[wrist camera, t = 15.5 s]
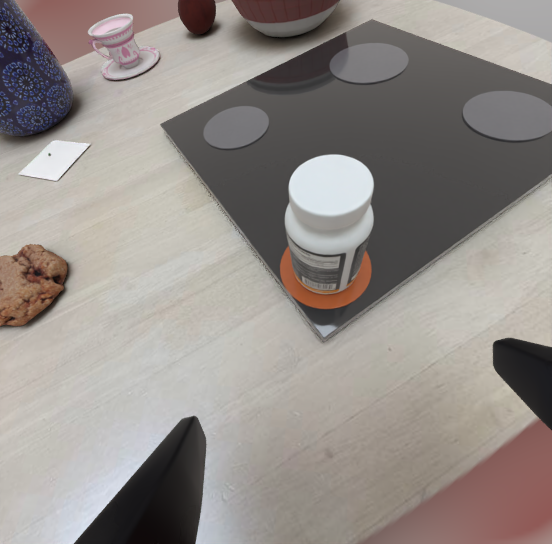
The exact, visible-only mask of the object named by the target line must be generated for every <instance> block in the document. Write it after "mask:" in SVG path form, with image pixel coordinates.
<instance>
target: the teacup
mask: <svg viewBox="0 0 552 544" xmlns="http://www.w3.org/2000/svg"><path fill="white" fill-rule="evenodd" d="M132 19H133V17H132V15H131V14H120V15H116V16H112V17H109V18H106V19H104V20H102V21H100V22H98V23H96V24H95V25H93V26H92V27H91V28H90V29H89V31H88V33H89V35H91V36H93V37H94V38H95V39H94V40H90V41H89V44H92V47H93V48H94V49H95V51H96V52H97V53H99V54H100V55H101V56H103V57H105V58H107V59H109V60H108V61H106V62H105V64H104V65H103V66H102V69H101V73H102V75H103V76H104V77H105V78H107V79H112V80H119V79H126V78H129V77H133V76H136V75H138V74H140V73H142V72H145V71H146V70H148V69H149V68H151V67H152V66H153V65H154V64H155V63H156V62H157V61H158V59H159V57H160V55H159V51H158V50H157V49H156V48H153V47H150V46H141V47H138V46H137V44H136V42H135V40H134V32H133V31H132V27H133V21H132ZM95 43H101V44H102V45H103V46H104V47H106V48H107V49H108V51H109V55H110V57H108V56H106V55H104V54H102V53H101V52H100V51H98V49H96V47H95Z"/></svg>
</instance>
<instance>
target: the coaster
mask: <svg viewBox="0 0 552 544" xmlns="http://www.w3.org/2000/svg"><path fill="white" fill-rule="evenodd" d="M89 145H90V144H85V143H77V142H68V141H60V140H53V141H52V142H51V143H50V144H49V145H48V146H47V147H46V148H45V149H44V150H43V151H41V152H40V153H39V154H38V155H37V156H36V157H35V158H34V159H33V160H32V161H31V162H30V163H29V164H28V165H27V166H26V167H25V168H24V169H23V170H22V171H21V172H20V173H19V174H20V175H25V176H31V177H37V178H42V179H48V180H54V181H57V180H58V179H59V178H60V177H61V176H62V175H63V173H64V172H65V171H66V170H67V169H68V168H69V167H70V166H71V165H72V164H73V163H74V162H75V160H76V159H77V158H78V157H79V156H80V155H81V154H82V153H83V152H84V151H85V150H86V149H87V147H88V146H89Z"/></svg>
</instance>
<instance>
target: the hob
mask: <svg viewBox="0 0 552 544" xmlns="http://www.w3.org/2000/svg"><path fill="white" fill-rule="evenodd" d="M160 125H161V127H162V128H163V130H164V132H165V134H166V135H167V136H168V138H169V139H170V140H171V142H172V143H173V144H174V146H175V147H176V148H177V150H178V151H179V152H180V154H181V155H182V156H183V158H184V159H185V160H186V162H187V163H188V164H189V166H190V167H191V168H192V170H193V171H194V172H195V174H196V175H197V176H198V178H199V179H200V180H201V181H202V183H203V184H204V185H205V187H206V188H207V189H208V191H209V192H210V193H211V195H212V196H213V197H214V199H215V200H216V201H217V203H218V204H219V205H220V207H221V208H222V209H223V211H224V212H225V213H226V215H227V216H228V217H229V219H230V220H231V221H232V223H233V224H234V225H235V226H236V228H237V229H238V230H239V232H240V233H241V234H242V236H243V237H244V238H245V240H246V241H247V242H248V244H249V245H250V246H251V248H252V249H253V250H254V252H255V253H256V254H257V256H258V257H259V258H260V260H261V261H262V262H263V264H264V265H265V266H266V268H267V269H268V270H269V272H270V273H271V274H272V275H273V277H274V278H275V279H276V281H277V282H278V283H279V285H280V286H281V287H282V289H283V290H284V291H285V293H286V294H287V295H288V297H289V298H290V299H291V301H292V302H293V303H294V305H295V306H296V307H297V309H298V310H299V311H300V313H301V314H302V315H303V317H304V318H305V319H306V320H307V322H308V323H309V324H310V326H311V327H312V328H313V330H314V331H315V332H316V334H317V335H318V336H319V338H320V339H321V340H322V342H325V341H326V340H328V339H329V338H330V337H332V336H333V335H335V334H336V333H337V332H339V331H340V330H342V329H343V328H344V327H346V326H347V325H348V324H350V323H351V322H353V321H354V320H355V319H357V318H358V317H359V316H361V315H362V314H364V313H365V312H366V311H368V310H369V309H371V308H372V307H373V306H375V305H376V304H377V303H379V302H380V301H382V300H383V299H384V298H386V297H387V296H388V295H390V294H391V293H393V292H394V291H395V290H397V289H398V288H400V287H401V286H402V285H404V284H405V283H406V282H408V281H409V280H411V279H412V278H413V277H415V276H416V275H417V274H419V273H420V272H422V271H423V270H424V269H426V268H427V267H429V266H430V265H431V264H433V263H434V262H435V261H437V260H438V259H440V258H441V257H442V256H444V255H445V254H446V253H448V252H449V251H451V250H452V249H453V248H455V247H456V246H458V245H459V244H460V243H462V242H463V241H464V240H466V239H467V238H469V237H470V236H471V235H473V234H474V233H475V232H477V231H478V230H480V229H481V228H482V227H484V226H485V225H487V224H488V223H489V222H491V221H492V220H493V219H495V218H496V217H498V216H499V215H500V214H502V213H503V212H504V211H506V210H507V209H509V208H510V207H511V206H513V205H514V204H516V203H517V202H518V201H520V200H521V199H522V198H524V197H525V196H527V195H528V194H529V193H531V192H532V191H533V190H535V189H536V188H538V187H539V186H540V185H542V184H543V183H545V182H546V181H547V180H549V179H550V178H551V177H552V84H549V83H546V82H544V81H541V80H538V79H535V78H532V77H530V76H527V75H524V74H521V73H519V72H516V71H513V70H510V69H508V68H505V67H502V66H499V65H497V64H494V63H491V62H488V61H485V60H483V59H480V58H477V57H474V56H472V55H469V54H466V53H463V52H461V51H458V50H455V49H452V48H449V47H447V46H444V45H441V44H438V43H436V42H433V41H430V40H427V39H425V38H422V37H419V36H416V35H414V34H411V33H408V32H405V31H402V30H400V29H397V28H394V27H391V26H389V25H386V24H383V23H380V22H378V21H375V20H370V21H368V22H365V23H363V24H361V25H359V26H357V27H355V28H353V29H351V30H349V31H347V32H345V33H343V34H341V35H339V36H337V37H335V38H333V39H331V40H329V41H327V42H325V43H323V44H321V45H319V46H317V47H315V48H313V49H311V50H309V51H307V52H305V53H303V54H301V55H299V56H297V57H295V58H293V59H291V60H289V61H287V62H285V63H283V64H281V65H279V66H277V67H275V68H273V69H271V70H269V71H267V72H265V73H263V74H261V75H259V76H256V77H254V78H252V79H250V80H248V81H246V82H244V83H242V84H240V85H238V86H236V87H234V88H232V89H230V90H228V91H226V92H224V93H222V94H220V95H218V96H216V97H214V98H212V99H210V100H208V101H206V102H204V103H202V104H200V105H198V106H196V107H194V108H192V109H190V110H188V111H186V112H184V113H182V114H180V115H178V116H176V117H174V118H172V119H170V120H168V121H166V122H164V123H162V124H160ZM323 155H344V156H348V157H351V158H354V159H356V160H358V161H360V162H361V163H362V164H364V165H365V166H366V167H367V168H368V169H369V171H370V173H371V174H372V177H373V182H374V188H373V194H372V198H371V203H370V204H371V207H372V210H373V217H374V222H373V227H372V231H371V234H370V237H369V240H368V244H367V247H366V250H365V253H364V257H363V260H362V263H361V266H360V269H359V272H358V274H357V277H356V279H355V280H354V281H353V283H352V284H351V285H350V286H349V287H347V288H346V289H344V290H343V291H341V292H338V293H334V294H319V293H315V292H312V291H310V290H308V289H306V288H305V287H304V286H303V285H302V284H301V283H300V282H299V281H298V280H297V278H296V276H295V274H294V271H293V267H292V261H291V256H290V250H289V244H288V239H287V234H286V228H285V213H286V209H287V207H288V204H289V203H290V201H289V181H290V178H291V176H292V174H293V173H294V172H295V170H296V169H297V168H298V167H299V166H300V165H302V164H303V163H305V162H306V161H308V160H310V159H312V158H315V157H318V156H323Z"/></svg>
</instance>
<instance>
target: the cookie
mask: <svg viewBox="0 0 552 544" xmlns="http://www.w3.org/2000/svg"><path fill="white" fill-rule="evenodd" d="M67 268H68V267H67V263H66V261H65V260H64V259H62V258H61V257H59V256H57V255H56V254H54V253H52V252H49V251H47V250H46V249H44V248H43V247H42V246H41V245H35V244H34V245H32V244H30V245H26V246H25V247H22V249H21V250H20V251H19V252H18V254H17V255H13V256H1V257H0V326H2V325H12V326H22V325H25V324H26V323H27V322H28V321H29V320H31V319H32V318H33V317H35V316H36V315H37V314H38V313H40V312H41V311H42V310H44V309H45V308H46V307H47V306H49V305H50V304H51V302H52V301H53V300H54V299H53V298H55V297H56V296H58V295H59V292H60V291H62V290H64V286H63V284H62V283H63V282H64V280H63V279H64V278H65V277H66V276H67V275H66V274H67ZM55 299H56V298H55Z"/></svg>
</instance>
